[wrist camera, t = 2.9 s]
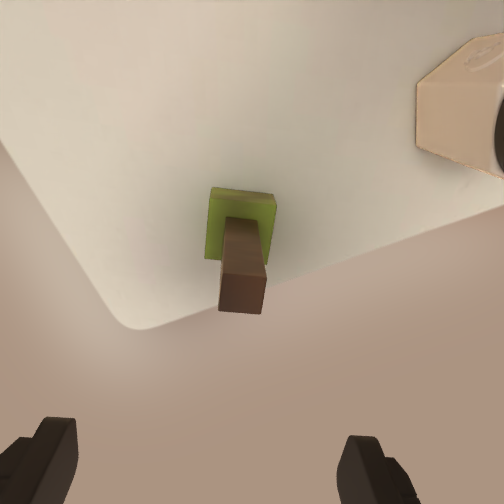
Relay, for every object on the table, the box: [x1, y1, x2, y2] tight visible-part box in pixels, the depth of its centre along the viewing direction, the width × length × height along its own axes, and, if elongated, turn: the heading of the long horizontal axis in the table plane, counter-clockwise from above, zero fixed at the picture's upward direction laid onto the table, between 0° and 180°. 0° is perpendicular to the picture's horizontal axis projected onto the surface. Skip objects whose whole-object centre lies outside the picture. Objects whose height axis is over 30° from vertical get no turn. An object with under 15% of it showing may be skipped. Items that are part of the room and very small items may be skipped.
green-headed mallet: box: [204, 187, 277, 314], centre depth 25 cm, size 5×5×12 cm
